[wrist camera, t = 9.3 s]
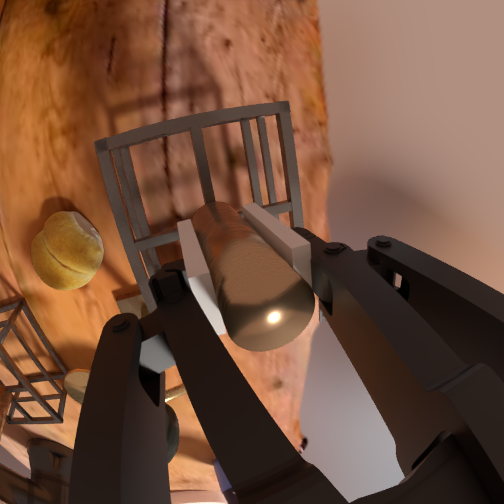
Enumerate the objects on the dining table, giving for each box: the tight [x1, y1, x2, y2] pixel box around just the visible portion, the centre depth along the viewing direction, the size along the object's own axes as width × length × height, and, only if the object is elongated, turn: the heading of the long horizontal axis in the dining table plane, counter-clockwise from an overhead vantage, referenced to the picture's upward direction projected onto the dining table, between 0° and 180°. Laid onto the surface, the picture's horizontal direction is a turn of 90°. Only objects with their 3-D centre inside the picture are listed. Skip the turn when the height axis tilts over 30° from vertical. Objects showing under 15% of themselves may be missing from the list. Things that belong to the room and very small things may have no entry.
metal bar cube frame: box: [0, 298, 69, 440], centre depth 19 cm, size 12×14×19 cm
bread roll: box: [31, 211, 104, 290], centre depth 24 cm, size 8×9×4 cm
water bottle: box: [213, 459, 239, 504], centre depth 42 cm, size 9×9×25 cm
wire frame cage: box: [94, 101, 315, 352], centre depth 17 cm, size 12×14×19 cm
